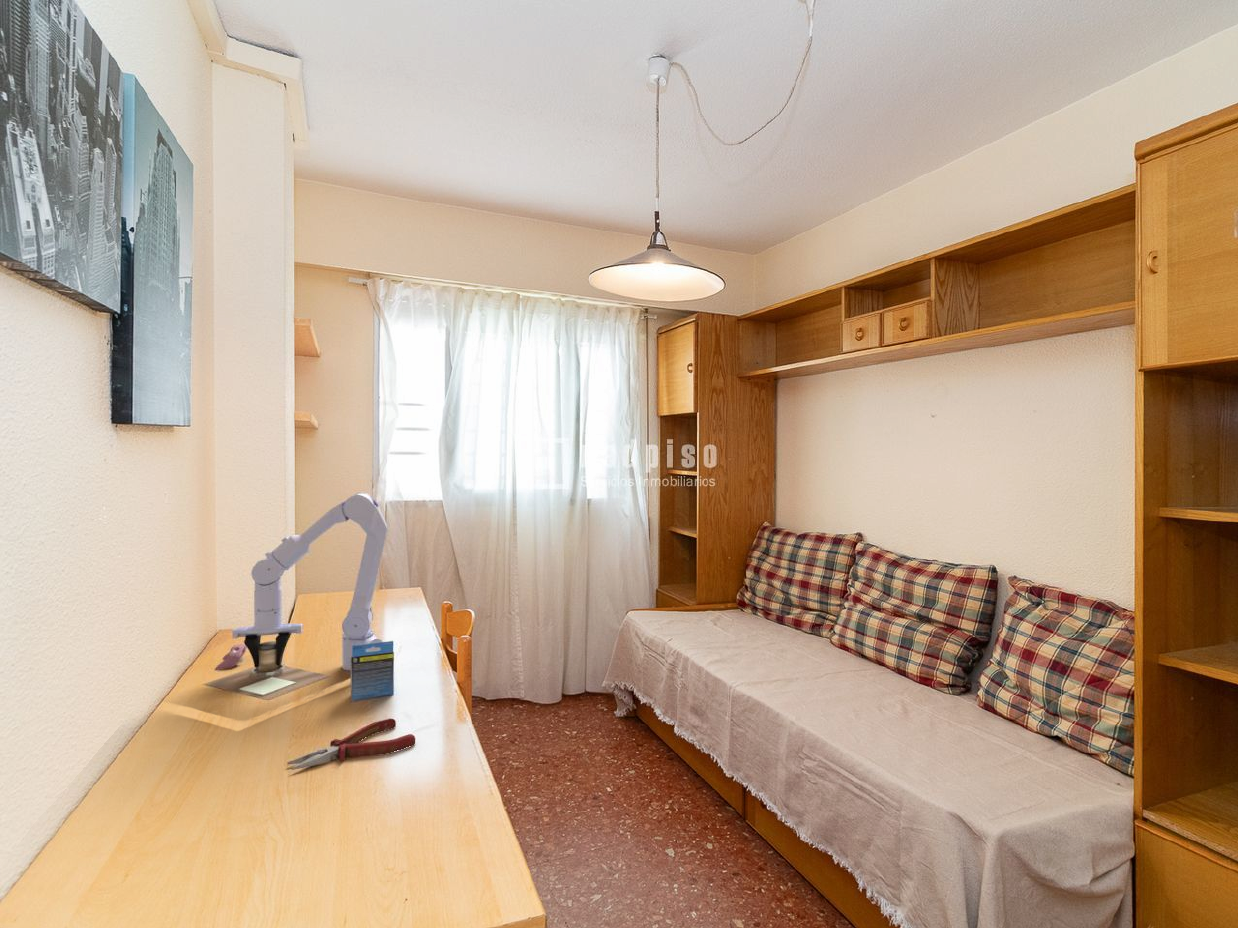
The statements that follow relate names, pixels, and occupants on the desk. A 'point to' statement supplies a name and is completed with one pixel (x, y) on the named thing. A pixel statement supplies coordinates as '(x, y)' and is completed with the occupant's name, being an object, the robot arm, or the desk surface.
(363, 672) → the label tape box
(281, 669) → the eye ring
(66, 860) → the desk surface
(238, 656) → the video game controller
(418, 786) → the desk surface
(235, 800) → the desk surface
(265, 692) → the sage pad
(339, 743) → the pliers
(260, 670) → the beech pin
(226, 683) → the walnut board
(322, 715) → the desk surface
